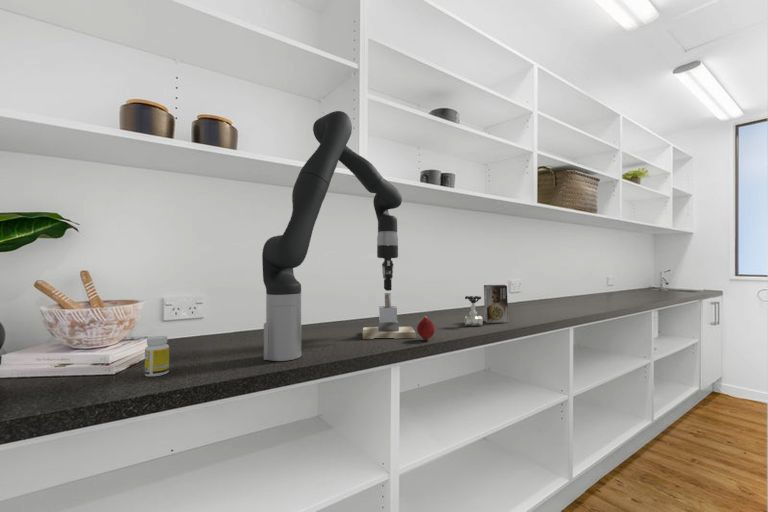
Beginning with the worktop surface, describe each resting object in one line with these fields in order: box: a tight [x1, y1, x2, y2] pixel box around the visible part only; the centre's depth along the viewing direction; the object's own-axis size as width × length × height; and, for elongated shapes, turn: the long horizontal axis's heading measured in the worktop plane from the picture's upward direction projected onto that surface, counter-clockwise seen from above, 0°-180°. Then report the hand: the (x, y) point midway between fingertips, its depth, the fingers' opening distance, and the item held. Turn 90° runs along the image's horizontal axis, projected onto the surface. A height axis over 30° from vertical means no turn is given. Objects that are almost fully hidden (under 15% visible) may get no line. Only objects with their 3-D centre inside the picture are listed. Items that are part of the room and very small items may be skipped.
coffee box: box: [483, 284, 509, 324], centre depth 156 cm, size 9×6×16 cm
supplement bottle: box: [144, 335, 170, 378], centre depth 82 cm, size 5×5×8 cm
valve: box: [464, 295, 484, 327], centre depth 145 cm, size 7×7×12 cm
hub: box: [378, 305, 398, 323], centre depth 127 cm, size 6×6×5 cm
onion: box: [416, 315, 436, 341], centre depth 117 cm, size 6×6×8 cm
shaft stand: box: [362, 292, 417, 340], centre depth 127 cm, size 18×12×15 cm, turn 93°
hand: (387, 289), depth 127 cm, fingers open, 8 cm apart
